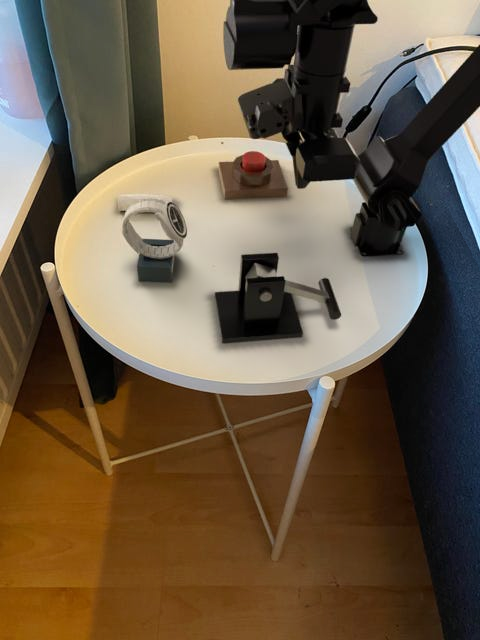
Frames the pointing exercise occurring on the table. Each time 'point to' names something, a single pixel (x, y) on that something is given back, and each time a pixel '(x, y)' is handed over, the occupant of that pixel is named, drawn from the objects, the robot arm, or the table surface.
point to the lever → (302, 289)
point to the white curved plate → (129, 199)
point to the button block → (252, 180)
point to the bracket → (257, 306)
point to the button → (253, 162)
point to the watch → (156, 252)
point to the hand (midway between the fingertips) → (300, 187)
